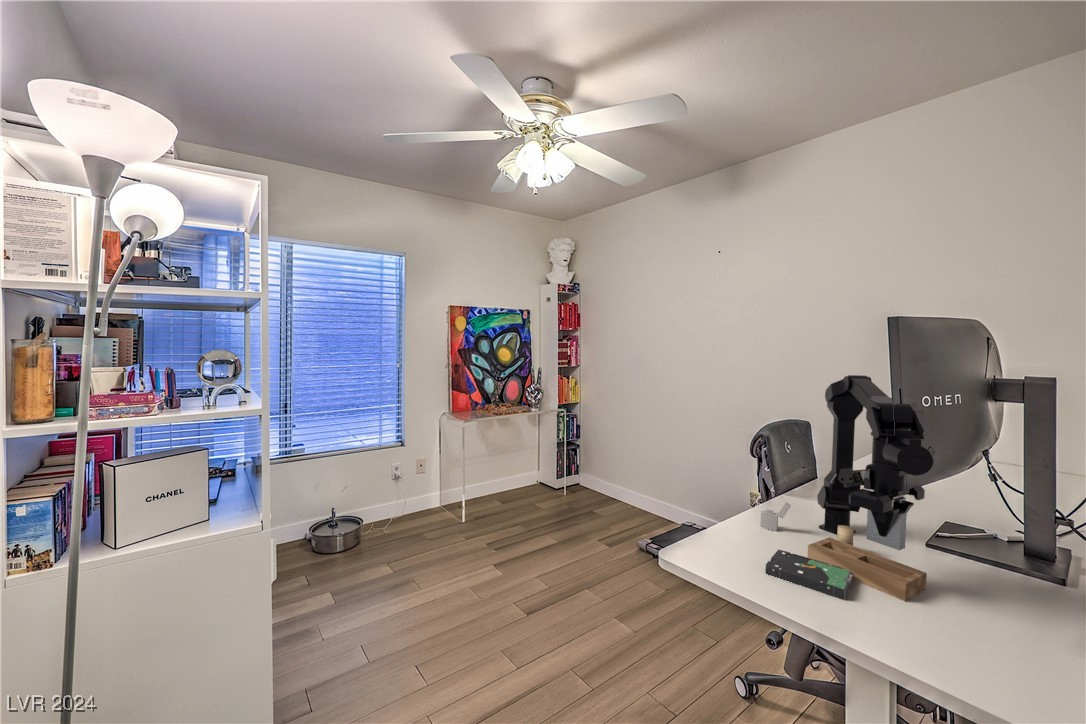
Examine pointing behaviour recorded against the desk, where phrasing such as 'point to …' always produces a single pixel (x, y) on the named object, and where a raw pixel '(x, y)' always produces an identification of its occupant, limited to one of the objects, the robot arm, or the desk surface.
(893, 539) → the tall grey rectangular prism
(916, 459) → the robot arm
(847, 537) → the round dowel
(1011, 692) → the desk surface
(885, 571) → the socket board
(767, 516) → the lighter
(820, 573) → the disk drive
